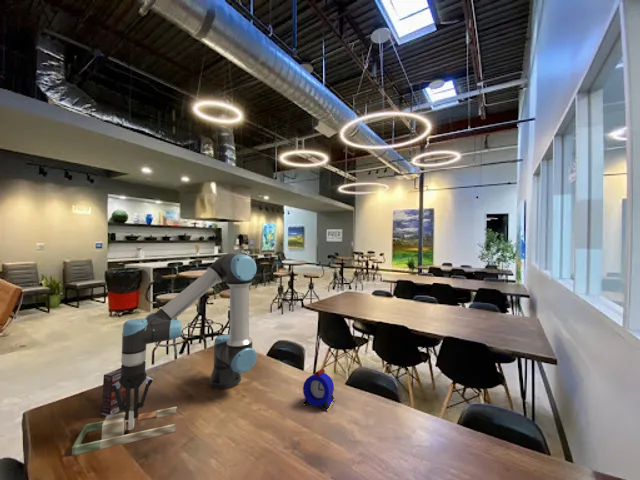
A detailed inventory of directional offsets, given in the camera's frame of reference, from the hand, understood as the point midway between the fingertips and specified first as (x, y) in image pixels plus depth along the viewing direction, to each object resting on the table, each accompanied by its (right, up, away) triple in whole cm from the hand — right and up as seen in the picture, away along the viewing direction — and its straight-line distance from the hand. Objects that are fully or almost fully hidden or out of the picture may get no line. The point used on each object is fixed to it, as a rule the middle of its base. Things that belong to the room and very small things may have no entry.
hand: (131, 427), depth 104 cm
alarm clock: (+69, -4, +23) cm, 73 cm away
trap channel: (-1, -2, +2) cm, 3 cm away
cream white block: (-5, -1, -2) cm, 5 cm away
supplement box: (-15, -2, +13) cm, 20 cm away
